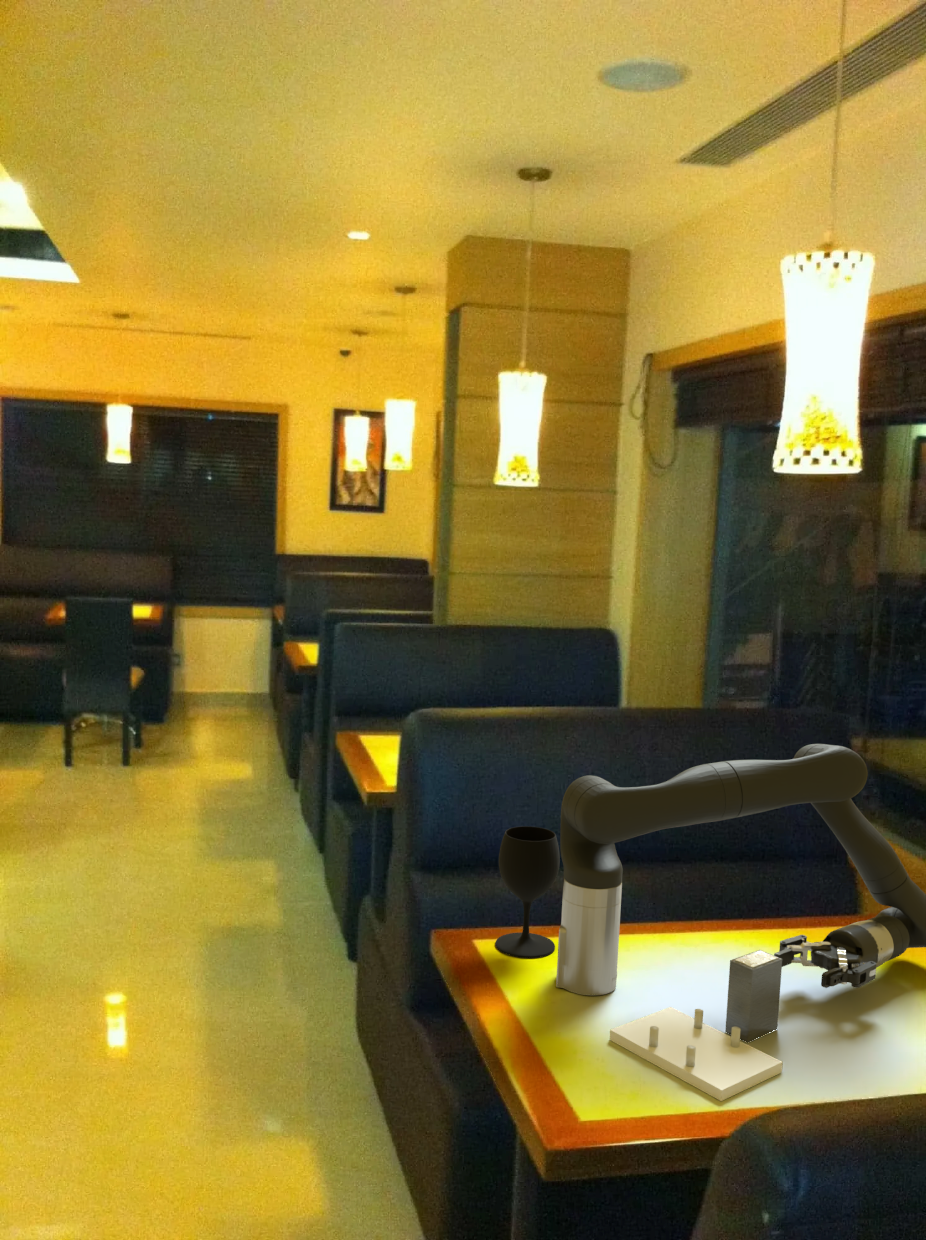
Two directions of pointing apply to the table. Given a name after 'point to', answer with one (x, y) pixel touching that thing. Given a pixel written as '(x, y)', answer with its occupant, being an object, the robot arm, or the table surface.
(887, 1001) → the table surface
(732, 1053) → the peg board
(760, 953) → the grey rectangular block
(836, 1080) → the table surface
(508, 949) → the wine glass
